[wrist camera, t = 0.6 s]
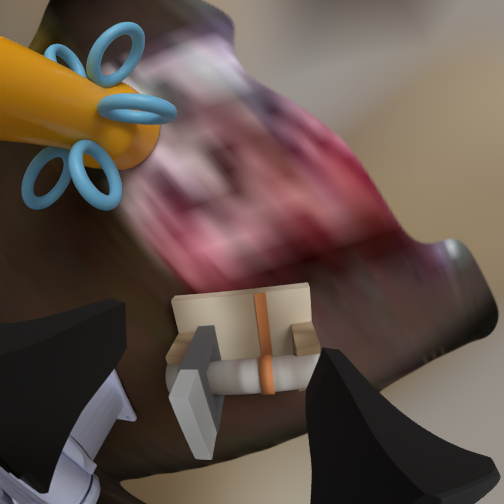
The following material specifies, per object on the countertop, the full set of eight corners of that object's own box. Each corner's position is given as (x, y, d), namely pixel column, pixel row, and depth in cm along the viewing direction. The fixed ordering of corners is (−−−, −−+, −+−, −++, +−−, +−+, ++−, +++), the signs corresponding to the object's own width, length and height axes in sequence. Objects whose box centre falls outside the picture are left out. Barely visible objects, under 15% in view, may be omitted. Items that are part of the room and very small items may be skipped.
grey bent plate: (212, 384, 20) (193, 458, 13) (197, 326, 19) (166, 396, 12) (226, 383, 20) (213, 459, 13) (214, 325, 19) (190, 397, 12)
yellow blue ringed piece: (219, 169, 19) (103, 114, 4) (103, 232, 20) (-57, 294, 5) (161, 42, 16) (65, -74, 2) (61, 110, 18) (-72, 77, 3)
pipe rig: (198, 387, 23) (184, 433, 17) (174, 295, 21) (147, 331, 15) (311, 378, 22) (322, 425, 16) (307, 282, 20) (323, 316, 14)
